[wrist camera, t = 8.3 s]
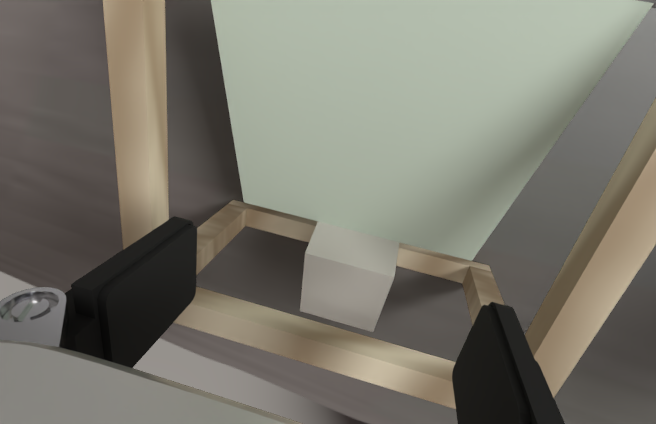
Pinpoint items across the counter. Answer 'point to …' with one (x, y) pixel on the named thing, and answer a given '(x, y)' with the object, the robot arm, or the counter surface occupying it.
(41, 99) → the counter surface
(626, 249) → the frame
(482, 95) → the trapdoor
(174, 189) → the counter surface
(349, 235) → the cube
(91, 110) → the counter surface
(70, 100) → the counter surface
